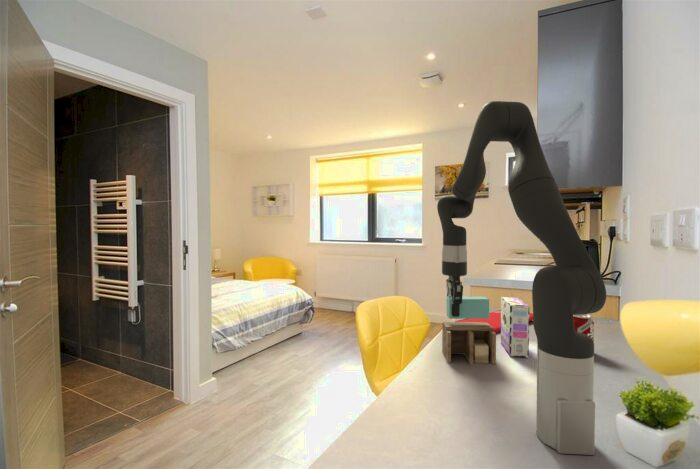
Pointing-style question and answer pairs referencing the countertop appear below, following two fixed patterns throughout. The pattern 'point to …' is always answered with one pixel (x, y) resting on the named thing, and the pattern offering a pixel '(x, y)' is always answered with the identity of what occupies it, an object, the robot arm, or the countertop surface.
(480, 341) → the oak offcut
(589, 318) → the soda can
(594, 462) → the countertop surface
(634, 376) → the countertop surface
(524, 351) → the candy box
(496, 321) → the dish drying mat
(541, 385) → the robot arm
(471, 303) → the block
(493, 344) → the shelf
